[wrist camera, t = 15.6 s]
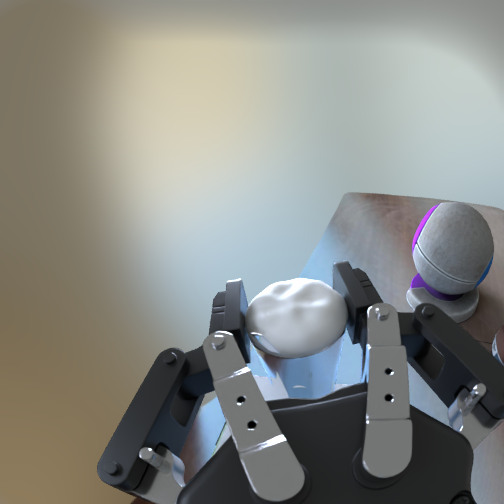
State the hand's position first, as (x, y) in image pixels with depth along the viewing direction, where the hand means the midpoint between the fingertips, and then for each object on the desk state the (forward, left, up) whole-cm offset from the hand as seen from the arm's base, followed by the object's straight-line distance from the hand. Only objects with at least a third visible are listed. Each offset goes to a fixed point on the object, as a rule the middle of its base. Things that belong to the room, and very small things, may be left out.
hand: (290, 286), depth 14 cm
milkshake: (+1, -3, -8) cm, 9 cm away
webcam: (+19, +23, -20) cm, 36 cm away
